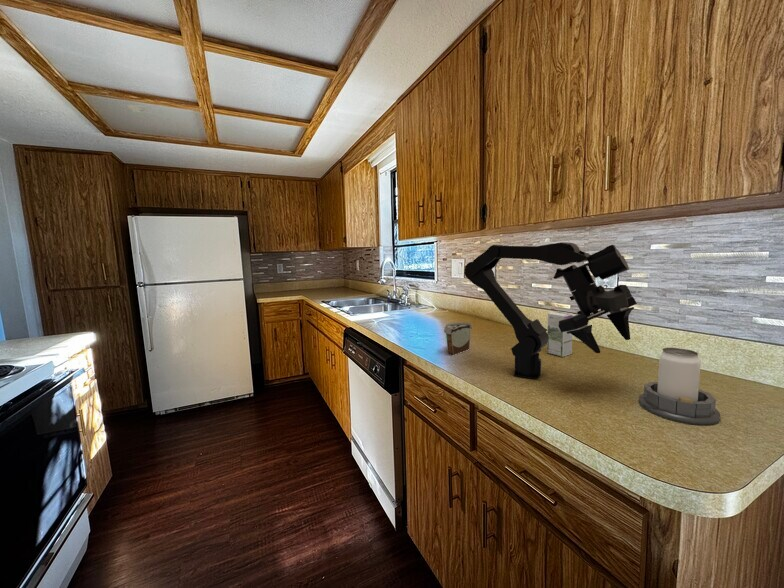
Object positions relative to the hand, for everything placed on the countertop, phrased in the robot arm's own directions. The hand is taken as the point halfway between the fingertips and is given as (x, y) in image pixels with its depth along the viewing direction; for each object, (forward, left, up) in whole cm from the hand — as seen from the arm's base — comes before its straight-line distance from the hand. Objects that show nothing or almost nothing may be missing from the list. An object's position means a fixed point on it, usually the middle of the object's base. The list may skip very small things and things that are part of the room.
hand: (613, 346), depth 75 cm
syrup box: (-12, +29, -12) cm, 34 cm away
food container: (-46, +19, -12) cm, 51 cm away
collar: (+11, -4, -12) cm, 17 cm away
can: (+11, -4, -11) cm, 16 cm away
